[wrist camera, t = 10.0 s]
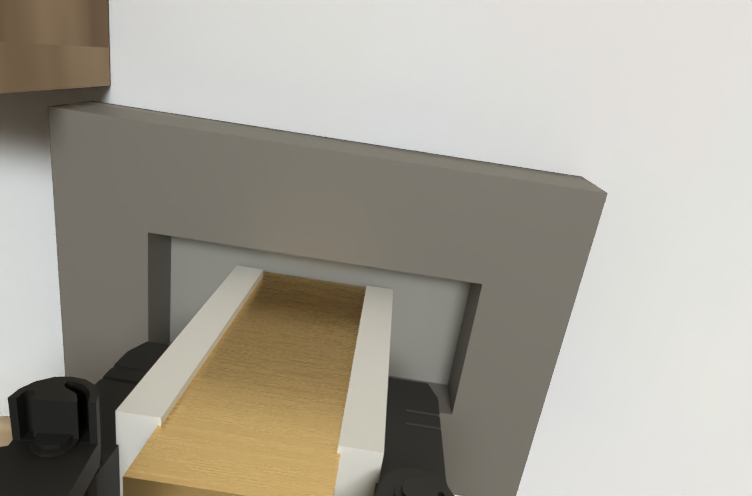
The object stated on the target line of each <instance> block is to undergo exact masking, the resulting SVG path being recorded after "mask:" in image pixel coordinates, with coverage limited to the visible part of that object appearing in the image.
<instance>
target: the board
mask: <svg viewBox="0 0 752 496" xmlns="http://www.w3.org/2000/svg"><path fill="white" fill-rule="evenodd" d="M48 119H49V134H50V149H51V165H52V180H53V195H54V210H55V226H56V241H57V256H58V271H59V287H60V302H61V317H62V332H63V347H64V363H65V377H70V376H71V377H76V378H82V379H86V380H88V381H89V382H91V383H93V384H94V385H95V384H96V383H97V382H98V381H99V380H100V379H101V380H102V378H103V376H104V375H105V374H106V373H107V372H108V371H109V370H110V369H111V368H113V367H114V364H115V363H116V362H117V361H118V360H119V359H120V358H121V357H122V356H123V355H124V354H125V353H126V352H127V351H129V350H131V349H133V348H135V347H137V346H139V345H141V344H143V343H145V342H147V341H148V342H154V343H161V344H167V345H171V344H172V343H173V341H174V340H175V339H176V338H177V337H178V335H179V334H180V333H181V332H182V331H183V329H184V328H185V327H186V326H187V325H188V323H189V322H190V321H191V320H192V319H193V317H194V316H195V315H196V314H197V313H198V311H199V310H200V309H201V308H202V307H203V305H204V304H205V303H206V302H207V301H208V299H209V298H210V297H211V296H212V295H213V294H214V292H215V291H216V290H217V289H218V288H219V286H220V285H221V284H222V283H223V282H224V280H225V279H226V278H227V277H228V276H229V274H230V273H231V272H232V271H233V270H234V268H235V267H236V266H237V265H239V266H245V267H251V268H258V269H264V271H263V274H264V272H271V273H277V274H284V275H290V276H296V277H303V278H309V279H316V280H322V281H329V282H335V283H341V284H348V285H354V286H361V287H366V286H367V285H368V286H374V287H380V288H387V289H393V301H392V319H391V337H390V354H389V372H388V377H390V378H396V379H403V380H409V381H415V382H422V383H428V384H429V386H430V387H431V389H432V390H433V392H434V393H435V395H436V396H437V398H438V402H439V413H440V415H439V417H440V423H441V433H442V444H443V454H444V464H445V475H446V482H447V486H448V487H449V489H450V490H451V492H452V493H453V494H455V495H461V496H516V494H517V490H518V487H519V484H520V480H521V477H522V474H523V471H524V467H525V464H526V461H527V457H528V454H529V451H530V447H531V444H532V441H533V437H534V434H535V431H536V428H537V424H538V421H539V418H540V414H541V411H542V408H543V404H544V401H545V398H546V395H547V391H548V388H549V385H550V381H551V378H552V375H553V371H554V368H555V365H556V361H557V358H558V355H559V352H560V348H561V345H562V342H563V338H564V335H565V332H566V328H567V325H568V322H569V319H570V315H571V312H572V309H573V305H574V302H575V299H576V295H577V292H578V289H579V285H580V282H581V279H582V276H583V272H584V269H585V266H586V262H587V259H588V256H589V252H590V249H591V246H592V243H593V239H594V236H595V233H596V229H597V226H598V223H599V219H600V216H601V213H602V209H603V206H604V203H605V200H606V196H607V192H605V191H603V190H602V189H600V188H599V187H597V186H595V185H594V184H592V183H591V182H589V181H588V180H586V179H584V178H583V177H580V176H574V175H567V174H561V173H554V172H548V171H542V170H535V169H529V168H522V167H516V166H509V165H503V164H496V163H490V162H483V161H477V160H470V159H464V158H457V157H451V156H445V155H438V154H432V153H425V152H419V151H412V150H406V149H399V148H393V147H386V146H380V145H373V144H367V143H360V142H354V141H347V140H341V139H335V138H328V137H322V136H315V135H309V134H302V133H296V132H289V131H283V130H276V129H270V128H263V127H257V126H250V125H244V124H238V123H231V122H225V121H218V120H212V119H205V118H199V117H192V116H186V115H179V114H173V113H166V112H160V111H153V110H147V109H141V108H134V107H128V106H121V105H115V104H108V103H102V102H95V101H91V102H82V103H74V104H65V105H57V106H48Z"/></svg>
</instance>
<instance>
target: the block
mask: <svg viewBox="0 0 752 496" xmlns="http://www.w3.org/2000/svg"><path fill="white" fill-rule="evenodd" d="M365 291H366V287H361V286H354V285H348V284H341V283H335V282H329V281H322V280H316V279H309V278H303V277H296V276H290V275H284V274H277V273H271V272H264V274H263V277H262V279H261V280H260V282H259V283H258V285H257V286H256V288H255V289H254V291H253V292H252V294H251V295H250V296H249V298H248V299H247V301H246V302H245V304H244V305H243V307H242V308H241V310H240V311H239V313H238V314H237V315H236V317H235V318H234V320H233V321H232V323H231V324H230V326H229V327H228V329H227V330H226V332H225V333H224V335H223V336H222V337H221V339H220V340H219V342H218V343H217V345H216V346H215V348H214V349H213V351H212V352H211V354H210V355H209V356H208V358H207V359H206V361H205V362H204V364H203V365H202V367H201V368H200V370H199V371H198V373H197V374H196V375H195V377H194V378H193V380H192V381H191V383H190V384H189V386H188V387H187V389H186V390H185V392H184V393H183V394H182V396H181V397H180V399H179V400H178V402H177V403H176V405H175V406H174V408H173V409H172V411H171V412H170V413H169V415H168V416H167V418H166V419H165V421H164V422H163V424H162V425H161V426H160V425H158V426H157V428H156V429H155V431H154V432H153V433H152V435H151V436H150V438H149V439H148V441H147V442H146V443H145V445H144V446H143V448H142V449H141V451H140V452H139V454H138V455H137V456H136V458H135V459H134V461H133V462H132V464H131V465H130V466H129V468H128V469H127V471H126V472H125V474H124V475H123V496H334V493H335V486H336V479H337V473H338V466H339V460H340V453H337V450H338V443H339V438H340V432H341V427H342V421H343V415H344V410H345V404H346V398H347V393H348V387H349V381H350V376H351V370H352V365H353V359H354V353H355V348H356V342H357V336H358V331H359V325H360V320H361V314H362V308H363V303H364V297H365Z"/></svg>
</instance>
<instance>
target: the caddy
mask: <svg viewBox="0 0 752 496" xmlns="http://www.w3.org/2000/svg"><path fill="white" fill-rule="evenodd" d="M98 86H110V61H109V22H108V0H0V93H14V92H28V91H42V90H56V89H70V88H84V87H98Z"/></svg>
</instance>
